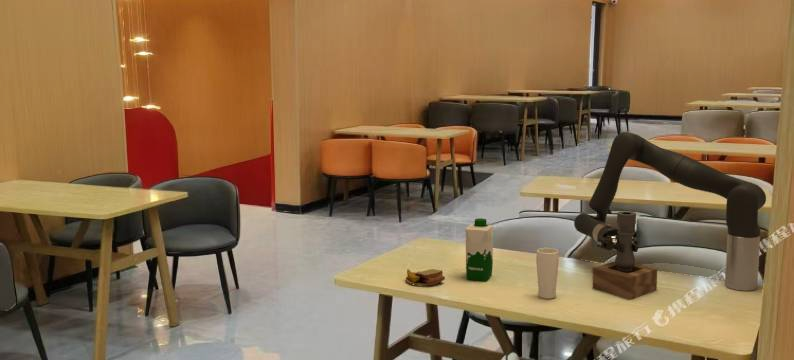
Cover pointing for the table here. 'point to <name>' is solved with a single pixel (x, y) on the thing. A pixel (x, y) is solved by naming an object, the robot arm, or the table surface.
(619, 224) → the candle holder
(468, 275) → the milk carton
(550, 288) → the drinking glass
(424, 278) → the toy sandwich meal
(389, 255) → the table surface
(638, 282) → the bore block
